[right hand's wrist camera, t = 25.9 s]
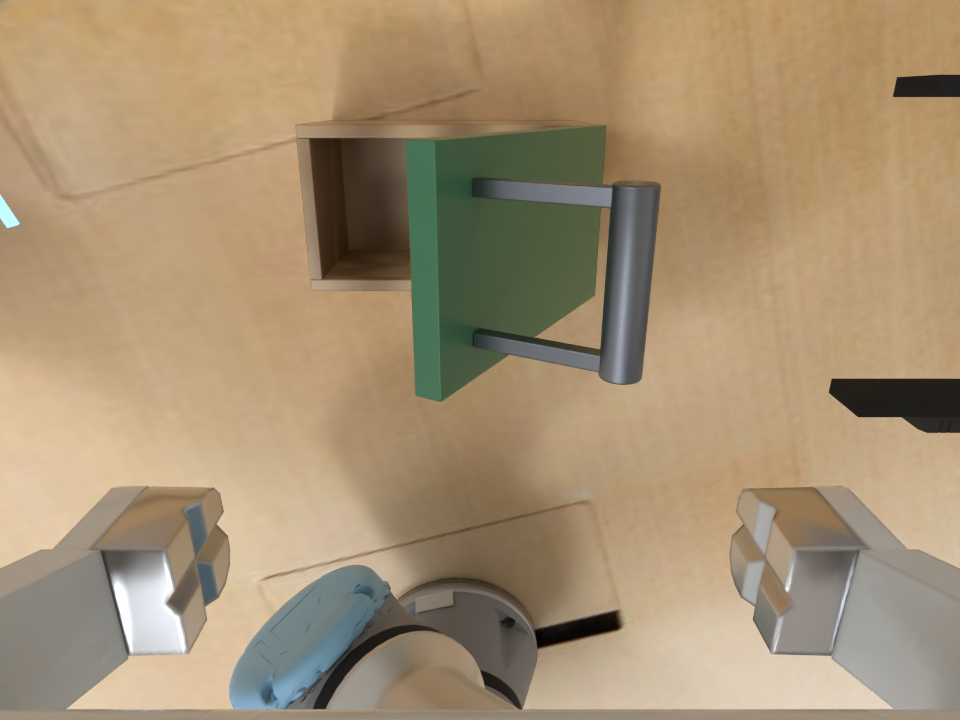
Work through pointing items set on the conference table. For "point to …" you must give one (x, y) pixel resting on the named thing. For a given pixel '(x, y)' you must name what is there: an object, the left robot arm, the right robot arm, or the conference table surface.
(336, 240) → the chest
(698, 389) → the conference table surface
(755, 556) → the right robot arm
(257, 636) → the left robot arm
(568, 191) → the lid
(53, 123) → the conference table surface
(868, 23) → the conference table surface
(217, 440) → the conference table surface
